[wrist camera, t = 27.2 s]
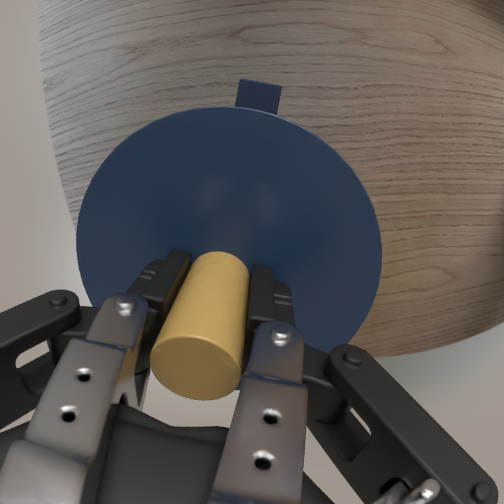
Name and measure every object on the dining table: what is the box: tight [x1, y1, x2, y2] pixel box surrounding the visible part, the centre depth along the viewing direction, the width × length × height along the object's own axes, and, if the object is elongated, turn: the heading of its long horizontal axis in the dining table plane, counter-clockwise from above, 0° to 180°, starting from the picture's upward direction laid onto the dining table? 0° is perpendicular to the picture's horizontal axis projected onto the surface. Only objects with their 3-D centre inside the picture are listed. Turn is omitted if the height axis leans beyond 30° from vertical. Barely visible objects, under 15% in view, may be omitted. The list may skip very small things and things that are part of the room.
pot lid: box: [76, 106, 382, 400], centre depth 10 cm, size 13×13×6 cm
